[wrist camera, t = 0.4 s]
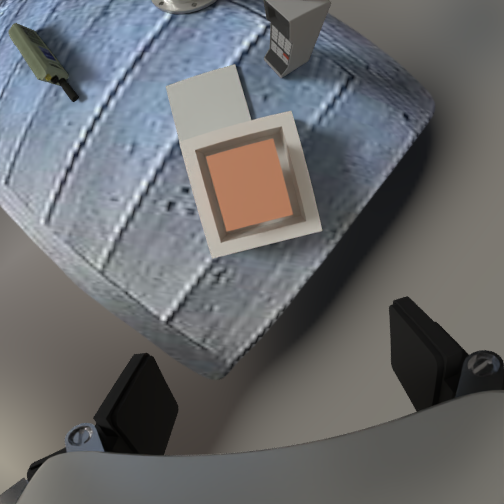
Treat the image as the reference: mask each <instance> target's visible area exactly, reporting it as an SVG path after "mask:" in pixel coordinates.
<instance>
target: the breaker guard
mask: <svg viewBox="0 0 504 504" xmlns="http://www.w3.org/2000/svg"><path fill="white" fill-rule="evenodd" d="M269 139H273V140H274V143H275V147H276V151H277V154H278V158H279V162H280V165H281V169H282V173H283V177H284V181H285V184H286V188H287V192H288V196H289V200H290V204H291V208H292V212H293V215H290V216H286V217H282V218H278V219H274V220H270V221H266V222H262V223H258V224H254V225H250V226H246V227H243V228H239V229H235V230H231V231H226V228H225V224H224V221H223V217H222V213H221V210H220V206H219V203H218V199H217V196H216V192H215V188H214V185H213V181H212V178H211V174H210V170H209V167H208V163H207V159H206V157H207V156H210V155H213V154H217V153H220V152H224V151H227V150H231V149H234V148H238V147H242V146H245V145H249V144H253V143H257V142H261V141H265V140H269ZM179 143H180V147H181V150H182V154H183V158H184V162H185V165H186V169H187V173H188V176H189V180H190V184H191V187H192V191H193V194H194V198H195V202H196V205H197V209H198V212H199V216H200V219H201V222H202V226H203V229H204V233H205V236H206V239H207V243H208V246H209V249H210V253H211V256H212V258H216V257H220V256H224V255H228V254H232V253H236V252H240V251H244V250H248V249H252V248H256V247H260V246H264V245H268V244H272V243H276V242H280V241H284V240H288V239H292V238H296V237H300V236H304V235H308V234H312V233H316V232H320V231H322V227H321V223H320V218H319V214H318V210H317V205H316V201H315V197H314V193H313V189H312V185H311V181H310V177H309V173H308V169H307V165H306V161H305V157H304V154H303V150H302V146H301V143H300V139H299V135H298V132H297V128H296V125H295V121H294V118H293V115H292V111H289V112H284V113H280V114H275V115H271V116H267V117H263V118H259V119H255V120H251V121H247V122H243V123H239V124H236V125H232V126H229V127H225V128H222V129H218V130H215V131H211V132H208V133H205V134H202V135H199V136H195V137H192V138H189V139H186V140H183V141H180V142H179Z"/></svg>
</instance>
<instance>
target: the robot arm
mask: <svg viewBox="0 0 504 504" xmlns="http://www.w3.org/2000/svg"><path fill="white" fill-rule="evenodd" d="M216 1H217V0H152V2H153V4H154V5H155V6H156V7H157V8H158V9H160V10H162V11H164V12H167V13H173V14H184V13H191V12H194V11H198V10H201V9H203V8H206V7H207V6H209V5H211V4H213V3H214V2H216ZM389 315H390V333H391V334H390V336H391V365H392V368H393V370H394V372H395V374H396V375H397V377H398V379H399V381H400V382H401V384H402V386H403V388H404V390H405V391H406V393H407V395H408V397H409V398H410V400H411V402H412V404H413V406H414V407H415V409H416V411H417V412H415V413H412V414H409V415H406V416H403V417H401V418H397V419H395V420H392V421H388V422H385V423H382V424H379V425H376V426H372V427H369V428H366V429H362V430H358V431H355V432H351V433H347V434H343V435H339V436H335V437H331V438H326V439H322V440H317V441H312V442H307V443H302V444H296V445H291V446H285V447H279V448H272V449H264V450H256V451H247V452H237V453H226V454H225V453H224V454H207V455H164V453H165V450H166V447H167V444H168V441H169V438H170V435H171V431H172V429H173V425H174V423H175V419H176V417H177V413H178V405H177V402H176V400H175V398H174V397H173V395H172V393H171V391H170V389H169V387H168V385H167V383H166V381H165V379H164V377H163V375H162V373H161V371H160V369H159V367H158V365H157V363H156V361H155V359H154V357H153V356H150V355H149V354H148V353H142V354H134V356H133V357H132V358H131V360H130V361H129V363H128V364H127V366H126V367H125V369H124V370H123V372H122V373H121V375H120V377H119V378H118V380H117V381H116V383H115V384H114V386H113V387H112V389H111V391H110V392H109V394H108V395H107V397H106V399H105V400H104V402H103V403H102V405H101V406H100V408H99V410H98V411H97V413H96V414H95V416H94V418H93V419H94V420H95V421H96V425H95V426H94V425H92V424H89V423H83V424H80V425H77V426H75V427H74V428H72V429H71V430H70V431H69V432H68V433H67V435H66V438H65V445H66V447H65V448H64V449H62V450H59V451H57V452H55V453H53V454H51V455H49V456H47V457H45V458H43V459H40V460H38V461H36V462H34V463H32V464H31V465H30V468H29V469H28V472H27V478H28V479H27V480H26V479H25V478H22V479H21V480H20V481H19V482H17V483H16V484H14V485H13V486H12V487H10V488H9V489H8V490H6V491H5V492H4V493H2V494H1V495H0V504H504V363H503V360H502V358H501V357H500V356H499V355H498V354H497V353H495V352H492V351H487V350H481V351H476V352H473V353H472V354H470V355H468V353H466V351H465V350H464V349H463V348H462V347H461V346H460V345H459V344H458V343H457V342H456V341H455V340H454V339H453V338H452V337H451V336H450V335H449V334H448V333H447V332H446V331H445V330H444V329H443V328H442V327H441V326H440V325H439V324H438V323H437V322H434V321H433V320H432V319H431V318H430V317H429V316H428V315H427V314H426V313H425V312H424V311H423V310H422V309H420V307H418V306H417V305H416V304H415V303H414V302H413V301H412V300H411V299H410V298H409V297H403V298H400V299H397V300H394V301H393V305H390V307H389Z"/></svg>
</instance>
